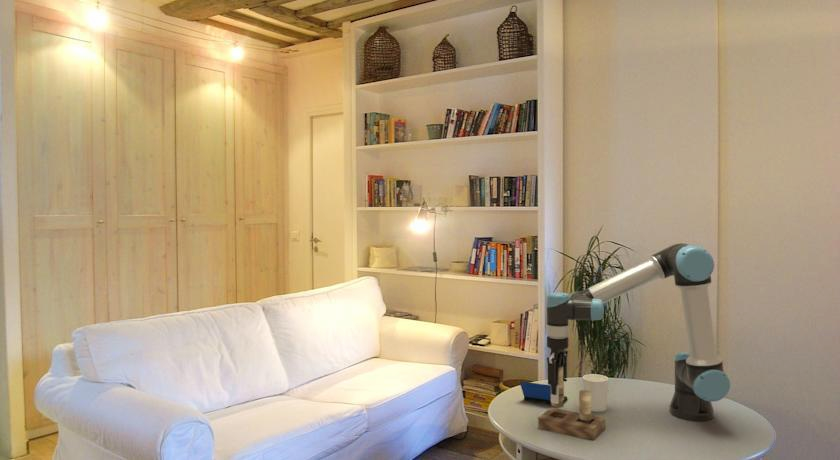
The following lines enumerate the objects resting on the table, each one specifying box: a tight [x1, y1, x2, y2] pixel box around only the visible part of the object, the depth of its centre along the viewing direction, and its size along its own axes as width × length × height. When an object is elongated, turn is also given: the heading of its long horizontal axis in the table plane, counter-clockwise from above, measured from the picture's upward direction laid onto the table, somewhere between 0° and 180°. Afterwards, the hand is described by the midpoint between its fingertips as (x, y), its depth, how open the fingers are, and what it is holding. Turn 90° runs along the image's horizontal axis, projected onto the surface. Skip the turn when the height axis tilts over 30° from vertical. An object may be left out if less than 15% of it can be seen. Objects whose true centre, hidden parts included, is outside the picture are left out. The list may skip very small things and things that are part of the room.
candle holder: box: [581, 373, 610, 413], centre depth 233 cm, size 10×10×12 cm
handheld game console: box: [519, 381, 568, 406], centre depth 242 cm, size 16×13×9 cm
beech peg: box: [551, 366, 564, 408], centre depth 215 cm, size 4×4×14 cm
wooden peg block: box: [537, 389, 606, 441], centre depth 213 cm, size 20×12×14 cm, turn 55°
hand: (557, 401), depth 215 cm, fingers closed on beech peg, 4 cm apart
